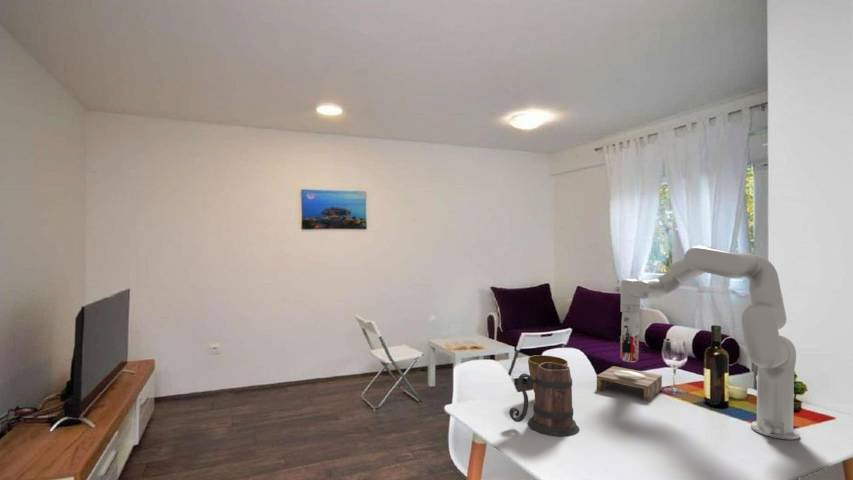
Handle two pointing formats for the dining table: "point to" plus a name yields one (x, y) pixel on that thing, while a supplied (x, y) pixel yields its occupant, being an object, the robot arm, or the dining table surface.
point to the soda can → (634, 350)
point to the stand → (631, 380)
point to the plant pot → (538, 359)
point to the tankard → (549, 401)
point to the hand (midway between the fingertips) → (629, 350)
